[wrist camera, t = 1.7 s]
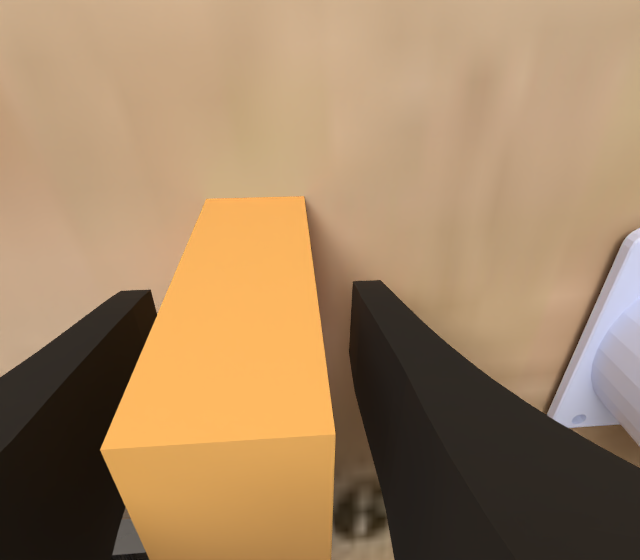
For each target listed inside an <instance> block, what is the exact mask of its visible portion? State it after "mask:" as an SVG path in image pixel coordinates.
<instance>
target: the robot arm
mask: <svg viewBox="0 0 640 560" xmlns="http://www.w3.org/2000/svg"><path fill="white" fill-rule="evenodd" d="M156 317H157V313H156V309H155V305H154V301H153V297H152V293H151V290H132V291H120V292H119V293H117V294H116V295H114V296H112V297H111V298H110V299H108V300H107V301H105V302H104V303H103V304H101V305H100V306H98V307H97V308H96V309H94V310H93V311H92V312H90V313H89V314H88V315H86V316H85V317H84V318H82V319H81V320H80V321H78V322H77V323H76V324H74V325H73V326H72V327H70V328H69V329H68V330H66V331H65V332H64V333H62V334H61V335H60V336H58V337H57V338H56V339H54V340H53V341H52V342H50V343H49V344H47V345H46V346H45V347H43V348H42V349H41V350H39V351H38V352H37V353H35V354H34V355H32V356H31V357H29V358H28V359H26V360H25V361H24V362H22V363H21V364H19V365H18V366H16V367H15V368H13V369H12V370H10V371H9V372H8V373H6V374H5V375H3V376H2V377H0V560H111V558H112V554H113V550H114V546H115V542H116V538H117V534H118V530H119V527H120V523H121V520H122V517H123V514H124V510H125V507H126V506H125V504H124V502H123V500H122V498H121V495H120V493H119V491H118V489H117V487H116V484H115V482H114V480H113V478H112V475H111V473H110V471H109V469H108V467H107V464H106V462H105V460H104V458H103V455H102V453H101V451H100V449H101V446H102V444H103V442H104V439H105V437H106V435H107V432H108V430H109V428H110V425H111V423H112V420H113V418H114V416H115V413H116V411H117V409H118V406H119V404H120V402H121V399H122V397H123V395H124V392H125V390H126V387H127V385H128V383H129V380H130V378H131V376H132V373H133V371H134V369H135V366H136V364H137V362H138V359H139V357H140V354H141V352H142V350H143V347H144V345H145V343H146V340H147V338H148V336H149V333H150V331H151V329H152V326H153V324H154V321H155V319H156ZM349 355H350V362H351V369H352V376H353V382H354V389H355V394H356V398H357V402H358V405H359V409H360V413H361V417H362V420H363V424H364V428H365V431H366V435H367V439H368V442H369V446H370V450H371V453H372V457H373V461H374V464H375V468H376V472H377V475H378V479H379V483H380V487H381V491H382V495H383V500H384V504H385V508H386V513H387V519H388V525H389V530H390V536H391V542H392V547H393V553H394V559H395V560H640V468H639V467H637V466H635V465H633V464H631V463H629V462H627V461H625V460H623V459H622V458H620V457H618V456H616V455H614V454H612V453H611V452H609V451H607V450H605V449H603V448H601V447H600V446H598V445H596V444H594V443H592V442H591V441H589V440H587V439H586V438H584V437H582V436H581V435H579V434H577V433H576V432H574V431H572V430H571V429H569V428H575V427H589V426H604V425H618V424H621V425H622V427H623V428H624V429H625V430H626V431H627V432H628V434H629V435H630V436H631V437H632V438H633V440H634V441H635V442H636V443H637V444H638V445H639V447H640V228H638V229H636V230H635V231H633V232H631V233H630V234H629V235H628V236H627V237H626V238H625V240H624V241H623V243H622V245H621V247H620V249H619V252H618V254H617V256H616V258H615V261H614V263H613V265H612V268H611V270H610V272H609V274H608V277H607V279H606V281H605V283H604V286H603V288H602V290H601V293H600V295H599V297H598V299H597V302H596V304H595V306H594V308H593V311H592V313H591V315H590V317H589V320H588V322H587V324H586V327H585V329H584V331H583V333H582V336H581V338H580V340H579V342H578V345H577V347H576V349H575V352H574V354H573V356H572V358H571V361H570V363H569V365H568V367H567V370H566V372H565V374H564V376H563V379H562V381H561V383H560V386H559V388H558V390H557V392H556V395H555V397H554V399H553V401H552V404H551V406H550V408H549V411H548V413H547V415H546V414H544V413H542V412H541V411H539V410H538V409H536V408H534V407H533V406H531V405H530V404H528V403H527V402H525V401H524V400H522V399H521V398H519V397H518V396H517V395H515V394H514V393H512V392H511V391H509V390H508V389H506V388H505V387H503V386H502V385H501V384H499V383H498V382H496V381H495V380H493V379H492V378H491V377H489V376H488V375H487V374H485V373H484V372H482V371H481V370H480V369H478V368H477V367H476V366H475V365H473V364H472V363H471V362H470V361H468V360H467V359H466V358H465V357H463V356H462V355H461V354H460V353H458V352H457V351H456V350H455V349H453V348H452V347H451V346H450V345H449V344H447V343H446V342H445V341H444V340H443V339H442V338H440V337H439V336H438V335H437V334H436V333H435V332H434V331H433V330H431V329H430V328H429V327H428V326H427V325H426V324H425V323H424V322H423V321H422V320H421V319H419V318H418V317H417V316H416V315H415V314H414V313H413V312H412V311H411V310H410V309H409V308H408V307H407V306H406V305H405V304H404V303H403V302H402V301H401V300H400V299H399V298H398V297H397V296H396V295H395V294H394V293H393V292H392V291H391V290H390V289H389V288H388V287H387V286H386V285H385V284H384V283H383V282H382V281H381V280H376V281H353V289H352V308H351V327H350V345H349Z"/></svg>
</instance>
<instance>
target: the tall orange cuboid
mask: <svg viewBox="0 0 640 560" xmlns="http://www.w3.org/2000/svg"><path fill="white" fill-rule="evenodd" d="M100 451H101V453H102V455H103V458H104V460H105V462H106V464H107V467H108V469H109V471H110V473H111V475H112V478H113V480H114V482H115V484H116V487H117V489H118V491H119V493H120V495H121V498H122V500H123V502H124V504H125V506H126V509H127V511H128V513H129V515H130V518H131V520H132V522H133V524H134V526H135V529H136V531H137V533H138V535H139V538H140V540H141V542H142V544H143V546H144V549H145V551H146V553H147V555H148V557H149V560H331V547H332V519H333V490H334V462H335V427H334V419H333V412H332V404H331V396H330V389H329V381H328V374H327V366H326V359H325V351H324V343H323V336H322V328H321V321H320V313H319V305H318V298H317V290H316V283H315V275H314V267H313V260H312V252H311V245H310V237H309V229H308V222H307V214H306V207H305V199H304V196H302V197H264V198H225V199H206V201H205V204H204V206H203V208H202V211H201V213H200V215H199V218H198V220H197V222H196V225H195V227H194V229H193V232H192V234H191V237H190V239H189V241H188V244H187V246H186V248H185V251H184V253H183V255H182V258H181V260H180V262H179V265H178V267H177V270H176V272H175V274H174V277H173V279H172V281H171V284H170V286H169V288H168V291H167V293H166V295H165V298H164V300H163V303H162V305H161V307H160V310H159V312H158V314H157V317H156V319H155V321H154V324H153V326H152V329H151V331H150V333H149V336H148V338H147V340H146V343H145V345H144V347H143V350H142V352H141V354H140V357H139V359H138V362H137V364H136V366H135V369H134V371H133V373H132V376H131V378H130V380H129V383H128V385H127V387H126V390H125V392H124V395H123V397H122V399H121V402H120V404H119V406H118V409H117V411H116V413H115V416H114V418H113V420H112V423H111V425H110V428H109V430H108V432H107V435H106V437H105V439H104V442H103V444H102V446H101V449H100Z"/></svg>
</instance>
